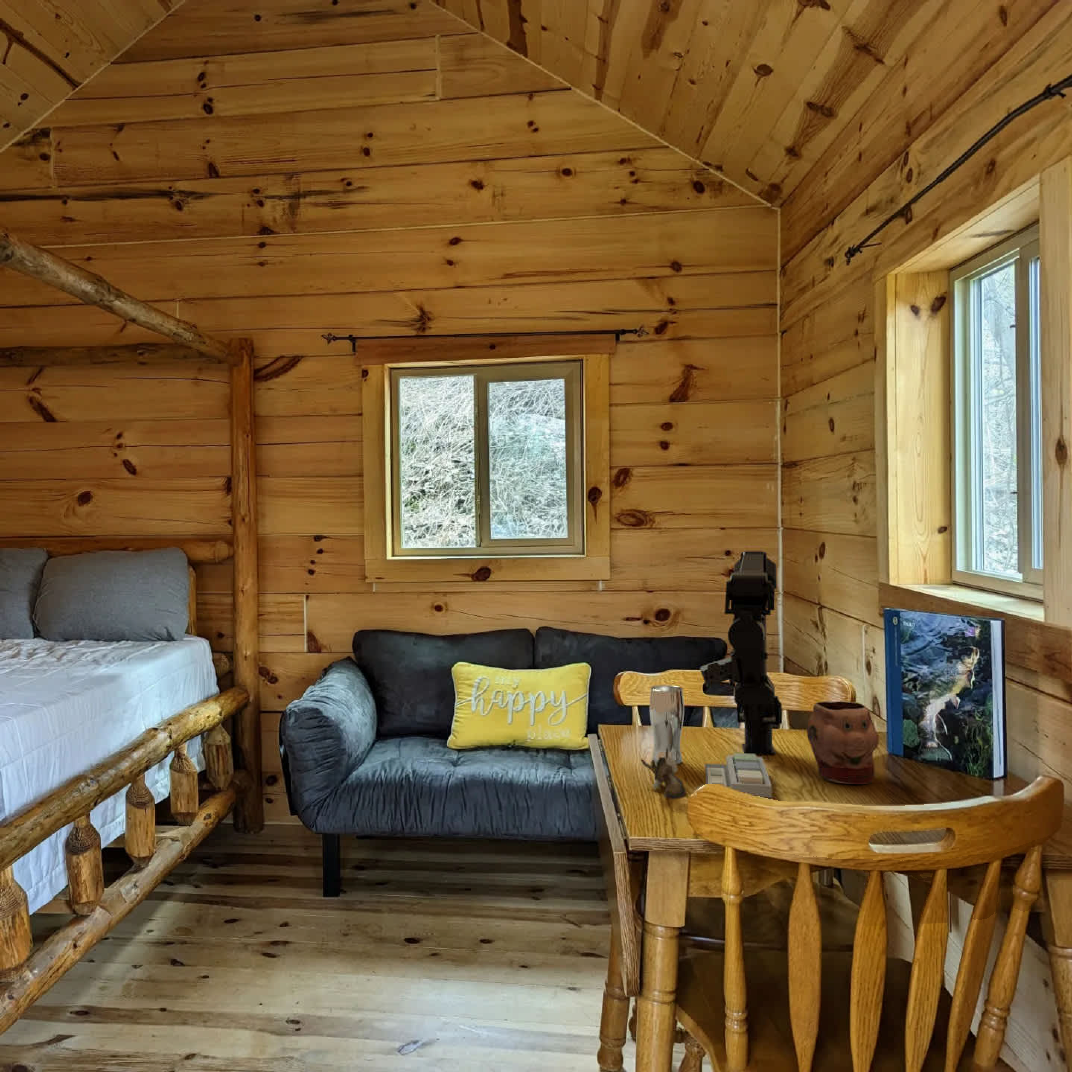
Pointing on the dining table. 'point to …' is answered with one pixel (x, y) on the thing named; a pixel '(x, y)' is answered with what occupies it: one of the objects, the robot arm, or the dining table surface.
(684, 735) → the dining table surface
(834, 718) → the decorative planter
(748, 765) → the slate key
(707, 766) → the keypad
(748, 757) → the sage key
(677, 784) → the eagle figurine
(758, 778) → the ivory key
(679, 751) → the beer glass
